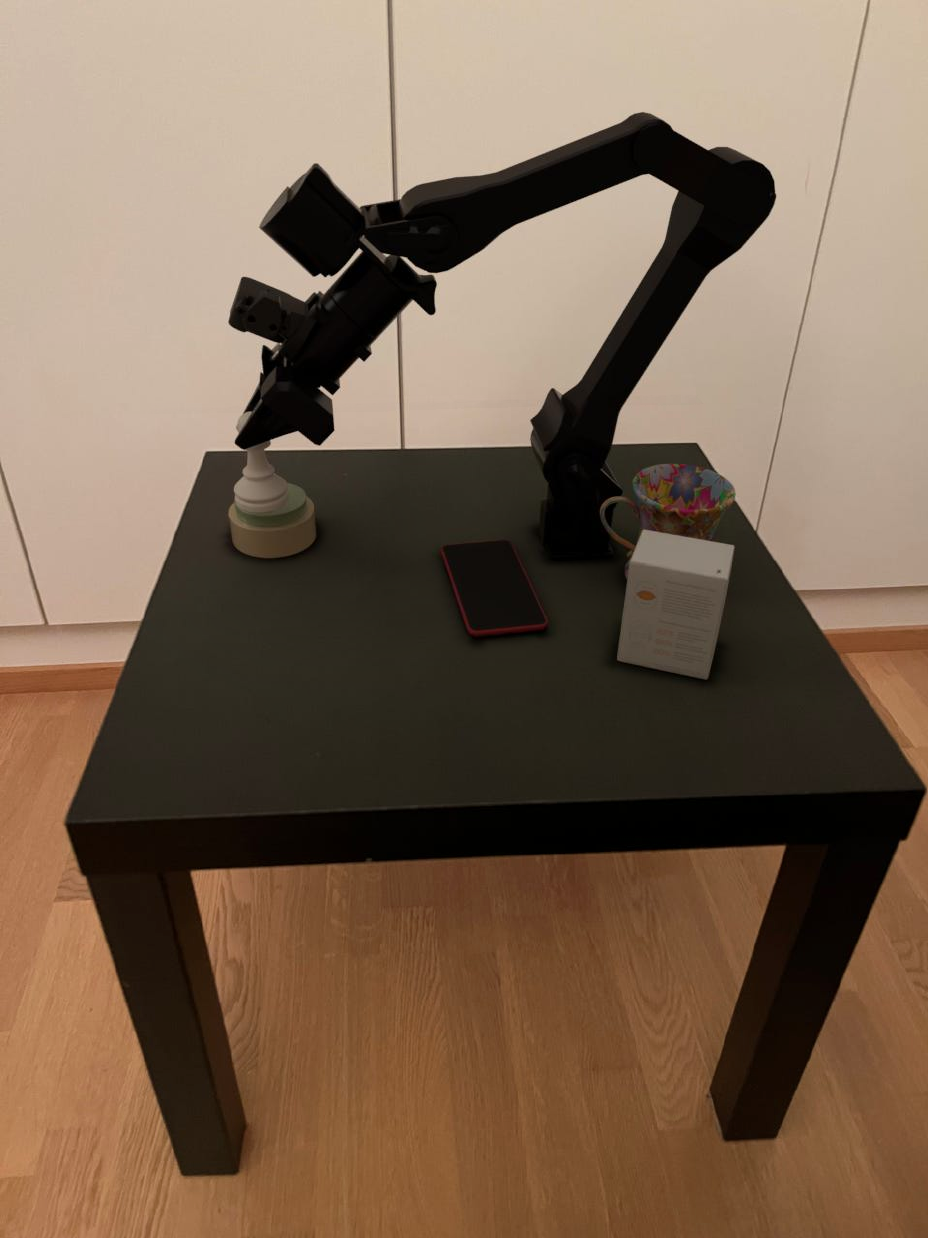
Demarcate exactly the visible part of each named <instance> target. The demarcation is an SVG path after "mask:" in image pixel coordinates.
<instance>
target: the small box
mask: <svg viewBox="0 0 928 1238" xmlns="http://www.w3.org/2000/svg"><path fill="white" fill-rule="evenodd" d="M638 538H639V540H638V539H637V542H636V545H635V546H636V547H635V550H634V552H633V555H632V557H631V560H630V564H629V572H628V580H627V579H626V588H625V594H624V595H625V596H624V602H623V609H622V618H621V625H620V632H619V633H620V634H619V640H618V647H617V656H616V661H617V662H621V663H626V664H630V665H634V666H639V667H644V668H649V669H652V670H653V669H654V670H658V671H663V672H667V673H671V674H672V673H673V674H675V675H680V676H681V675H682V676H686V677H691V678H696V679H701V680H705V681H706V680H708V679H709V676H710V672H711V667H712V665H713V664H712V663H713V659H714V655H715V652H716V651H715V650H716V646H717V642H718V638H719V632H720V627H721V622H722V618H723V613H724V608H725V603H726V599H727V592H728V588H729V583H730V577H731V572H732V564H733V560H734V555H735V554H734V553H735V545H734V544H728V543H723V542H717V541H712V540H711V541H707V540H701V539H695V538H689V537H684V536H678V535H672V534H667V533H661V532H655V531H650V530H642V532H641V535H640V537H639V536H638Z"/></svg>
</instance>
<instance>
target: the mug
mask: <svg viewBox="0 0 928 1238" xmlns="http://www.w3.org/2000/svg"><path fill="white" fill-rule="evenodd" d="M631 487H632V490H633V493H634V496H635V500H636V503H635V502H634V501H633V500H631V499H630V498H628V497H626V496H622V495H621V496H617V497H612V498H609V499H607V500H606V501H605V502H604V503H603V504H602V506H601V508H600V518H601V521H602V524H603V526H604V527H605V529H606V530H607V532H608V533H609V534H610V537H611V538H613V540H615V541H616V542H618V543H619V544H620V545H622V546H623V547H625V548H628V549H629V551H628V552H626V557H627V559H628V560H627V562H626V564H625V566H624V576H625V579H626V581H627V580H628V572H629V564H630V560H631V557H632V555H633V552H634V550H635V547H636V545H635V544H633V543H632V542H630V541H628V540H626V539H624V538H623V537H621V536H620V535H618V534H617V533H616V532H615V531H614V530H613V529H612V527H611V528H610V527H609V525H608V523H607V522H606V519H605V516H604V512H605V509H606V508H607V506H609V505H610V504H612V503H615V502H618V503H623V504H626V505H628V506H629V507H630V508H632V510H633V512H634V515H635V519H636V520H639V531H638V539H637V541H638V540H639V537H640V535H641V532H642V530H650V531H655V532H661V533H667V534H672V535H678V536H684V537H689V538H695V539H701V540H707V541H712V540H713V537H714V534H715V531H716V529H717V527H718V525H719V523H720V521H721V520H722V518H723V516H724V515H725V513H726V512H727V510H728V509H729V508H730V507H731V506H732V504H733V503H734V501H735V500H736V489H735V487H734V485H733V484H732V483H731V482H730V480H728V478H726V477H725V476H723V475H721V474H720V473H718V472H715V471H713V470H710V469H708V468H705V467H701V466H698V465H692V464H685V463H661V464H655V465H651V466H648V467H645V468H643V469H641V470H640V471H639V472H637V473H636V474H635V475H634V476H633V478H632V481H631Z"/></svg>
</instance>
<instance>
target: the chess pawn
mask: <svg viewBox="0 0 928 1238" xmlns="http://www.w3.org/2000/svg"><path fill="white" fill-rule="evenodd" d="M251 413H252V411H251V412H246V413H244V414H243V413H242V414H243V415H242V414H241V415H240V416H239V417H238V420H237V423H236V426H237V429H236V431H237V433H238V434H239V432H240V431H241V429H242V427H243V426H244V424H245V423H246V421H247V419H248V418H249V416H250V415H251ZM271 445H272V442H271V440H269V441H267V442H264V443H261V444H259V445H256V446H253V447H250V448H248V449H245V450H244V451H247V463H246V466H245V467H243V469H242V471H241V472H242V475H243V476H242V477H240V479H239V480H237V482H236V483H235V484H234V487H233V492H234V499H235V501H236V505H237V506H238V507H239V508H240V509H242V510H244V511H247V512H251V513H267V512H271V511H275V510H277V509H280V508H281V507H283V506H284V505H285V504H286V503H287V502H288V498H289V495H288V490H287V487H288V485H287V483H288V482H287V481H286V480H285V479H284V478H283V477H281V476H280V475H279V474H277V473H275V467H274V465H272V464H270V463H269V461H268V459H267V455H266V449H268V448H269V447H270V446H271Z"/></svg>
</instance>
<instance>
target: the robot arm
mask: <svg viewBox="0 0 928 1238" xmlns="http://www.w3.org/2000/svg"><path fill="white" fill-rule="evenodd" d="M644 175H650V176H652V177H653V178H655V179H657V180H659V181H661V182H663V183H664V184H666V185H668V186H669V187H671V188H672V189H674V190H676V191H677V193H676V195H675V198H674V201H673V203H672V205H671V211H670V214H669V219H668V222H667V223H668V224H667V229H666V233H665V237H664V238H665V239H664V241H663V243H662V246H661V248H660V249H659V251H658V253H657V254H656V256H655V258H654V259H653V260H652V263H651V264H650V265H649V268H648V269H647V271H645V274H644V276H643V277H642V279H641V281H640V282H639V284H638V285H637V287H636V289H635V291H634V292H633V294H632V295H631V297H630V299H629V300H628V302H627V304H626V305H625V307H624V309H623V310H622V312H621V314H620V315H619V317H618V319H617V320H616V322H615V323H614V325H613V327H612V328H611V330H610V332H609V333H608V335H607V336H606V338H605V340H604V341H603V343H602V345H601V347H600V348H599V350H598V352H597V353H596V355H595V356H594V357H593V359H592V361H591V363H590V365H589V366H588V368H587V370H586V371H585V372H584V374H583V376H582V378H581V379H580V380H579V382H578V383H576V385H574V386H573V387H571V388H570V389H568V390H567V391H566V392H565V393H561V392H560V391H558V390H557V389H556V388H555V387H551V388H550V390H549V391H548V393H547V395H546V397H545V400H544V402H543V405H542V406H541V408H540V409H539V411H538V412H537V414H535V415H534V416H533V417H532V418H530V419H529V420H530V423H531V426H532V429H531V432H530V438H529V440H530V441H529V442H530V446H531V449H532V453H533V455H534V457H535V459H536V462H537V464H538V466H539V469H540V471H541V474H542V475H543V478H544V480H545V481H546V483H547V491H546V492H547V493H546V497H545V498H544V497H543V498H542V499H541V501H540V511H539V526H538V534H539V537H540V540H541V543H542V545H543V546H544V547H546V549H547V550H546V551H547V553H548V555H549V558H550V559H551V560H555V561H557V560H560V561H561V560H578V559H579V560H580V559H583V560H584V559H598V558H599V559H604V558H612V557H613V556H614V549H613V547H612V545H611V543H610V541H611V535H610V534H609V533H608V532H607V530H606V529H605V527H604V526H603V524H602V521H601V518H600V508H601V506H602V504H603V503H604V502H605V501H606V500H607V499H609V498H612V497H617V496H621V497H622V496H623V493H624V490H623V489H622V487H621V485H620V483H619V482H618V480H617V479H616V477H615V475H614V473H613V471H612V469H611V468H610V466H609V464H608V462H607V459H608V456H609V455H610V452H611V450H612V447H613V443H614V438H615V434H616V429H617V424H618V420H619V416H620V413H621V411H622V409H623V407H624V405H625V404H626V402H627V401H628V399H629V397H630V396H631V395H632V393H633V392H634V390H635V388H636V387H637V385H638V384H639V382H640V381H641V379H642V377H643V376H644V374H645V372H646V371H647V370H648V368H649V367H650V365H651V364H652V362H653V360H654V359H655V357H656V355H657V354H658V352H659V351H660V349H661V348H662V346H663V345H664V343H665V342H666V340H667V338H668V337H669V336H670V334H671V332H672V331H673V329H674V327H675V326H676V324H677V323H678V321H679V320H680V318H681V317H682V315H683V314H684V312H685V310H686V309H687V307H688V306H689V304H690V302H691V301H692V299H693V298H694V296H695V295H696V293H697V292H698V290H699V288H700V287H701V285H702V284H703V282H704V281H705V280H706V278H707V276H708V275H709V274H710V273H711V272H712V271H713V270H715V269H716V268H717V267H718V266H720V265H721V264H722V263H724V262H725V261H726V260H728V259H729V258H731V257H732V256H733V255H735V254H737V253H738V252H739V251H740V250H741V249H742V248H743V247H744V246H745V245H746V244H747V242H748V241H749V240H750V239H751V238H752V237H753V236H754V235H755V233H756V232H757V231H758V229H759V228H760V227H762V225H763V224H764V223H765V222H766V220H767V219H768V218H769V217H770V215H771V212H772V210H773V209H774V206H775V204H776V200H777V193H776V183H775V178H774V176H773V174H772V172H771V170H770V169H769V168H768V167H766V165H764V163H762V162H759V161H758V160H756V159H754V158H752V157H750V156H748V155H746V154H744V153H742V152H740V151H738V150H736V149H733V148H731V147H729V146H716V147H713V148H710V149H707V148H705V147H703V146H702V145H700V144H698V143H696V142H694V141H693V140H691V139H689V138H687V137H686V136H684V135H683V134H681V133H679V132H677V131H676V130H674V129H673V128H672V125H670V124H669V123H668V122H667V121H665V120H664V119H662V118H660V117H658V116H656V115H655V114H652V113H649V112H645V111H642V112H636V113H633V114H630V115H629V116H628V117H627V118H625V119H624V120H622V121H621V122H618V123H617V124H614V125H611V126H609V127H607V128H604V129H600V130H599V131H596V132H594V133H591V134H588V135H586V136H584V137H581V138H578V139H576V140H573V141H571V142H569V143H566V144H563V145H561V146H559V147H557V148H554V149H551V150H548V151H546V152H544V153H541V154H538V155H536V156H533V157H531V158H529V159H526V160H524V161H521V162H518V163H516V164H513V165H510V166H508V167H506V168H504V169H501V170H498V171H496V172H491V173H486V174H481V175H469V176H467V175H465V176H455V177H449V178H445V179H440V180H434V181H429V182H424V183H420V184H417V185H415V186H413V187H411V188H410V189H408V190H407V191H405V192H404V193H403V195H402V196H401V198H400V199H393V200H387V201H382V202H376V203H371V204H370V203H369V204H365V205H361V206H360V207H359V206H358V205H357V204H356V203H355V202H354V201H353V200H352V199H351V198H350V197H349V196H348V195H347V194H346V193H345V192H344V191H343V190H342V189H341V188H340V187H339V186H338V185H337V184H336V183H335V182H334V181H333V179H332V177H331V176H330V174H329V173H328V172H327V171H326V170H325V168H323V167H322V166H321V165H320V164H319V163H316V162H315V163H313V164H312V165H311V166H310V168H309V169H308V170H307V171H306V172H305V173H303V174H302V175H301V176H300V177H298V178H297V179H296V180H295V182H293V183H292V184H291V186H290V187H289V186H286V187H285V189H283V190H282V192H280V194H279V196H278V197H277V198H276V200H275V201H274V202H273V203H272V205H271V206H270V208H268V211H267V212H266V213H265V214H264V217H262V220H261V222H260V224H259V226H258V228H259V229H260V230H261V231H262V232H263V233H264V234H265V235H266V236H267V237H268V238H270V240H272V241H273V242H274V243H275V244H276V245H277V246H279V248H280V249H282V250H283V251H284V252H285V253H286V254H287V255H288V256H290V258H291V259H292V260H293V261H295V262H296V263H297V264H298V265H299V266H300V267H302V268H303V270H304V271H306V272H307V273H308V274H309V275H310V276H311V277H313V278H315V277H317V276H319V275H321V276H322V277H323V278H327V277H328V276H329V277H331V278H332V277H334V276H335V275H337V274H338V273H339V272H340V271H342V270H343V269H344V268H345V266H346V265H347V264H348V263H349V261H350V260H351V259H352V258H353V256H355V254H356V252H357V251H359V249H360V251H361V252H360V253H359V254H358V255H357V256H356V257H355V258H354V259H353V260H352V262H351V263H350V264H349V265H348V266H347V267H346V268H345V270H344V271H343V272H342V273H341V274H340V275H339V276H338V277H337V278H336V280H335V281H334V282H333V283H332V284H331V285H330V286H329V288H328V289H327V290H326V291H325V292H324V293H323V292H322V291H321V290H319V291H318V292H317V293H316V292H315V291H314V292H313V293H311V294H310V295H309V297H308V298H307V299H306V300H305V301H304V300H302V299H299V298H297V297H295V296H293V295H291V294H290V293H288V292H286V291H284V290H281V289H278V288H276V287H274V286H272V285H268V284H266V283H264V282H261V281H259V280H256V279H254V278H252V277H248V276H242V277H241V278H240V280H239V284H238V286H237V290H236V292H235V295H234V299H233V301H232V304H231V308H230V310H229V317H228V321H227V322H228V325H229V326H230V327H231V328H233V329H235V330H237V331H238V332H241V333H246V332H247V333H251V334H253V335H254V336H255V335H256V336H258V337H260V338H263V339H265V340H268V341H271V342H273V343H276V344H275V345H274V347H272V349H271V348H270V347H268V346H267V345H265V344H263V345H262V347H261V357H260V359H261V367H262V371H260V373H259V382H258V384H257V386H256V387H255V389H254V392H253V394H252V395H251V397H250V399H249V401H248V403H247V405H246V407H245V409H244V410H243V413H242V414H241V415H243V414H244V413H246V412H251V411H252V413H251V415H250V416H249V418H248V419H247V421H246V423H245V424H244V426H243V427H242V429H241V431H240V432H239V433H238V434H237V435H236V437H235V439H234V445H235V446H237V447H238V448H239V449H241V450H243V451H246V450H245V449H248V448H250V447H253V446H256V445H259V444H261V443H264V442H267V441H269V440H270V441H273V440H275V439H279V438H281V437H283V436H286V435H290V434H293V433H297V432H298V433H300V434H301V435H302V436H304V437H305V438H306V439H307V440H308V441H310V442H311V443H312V444H314V445H316V446H318V447H320V446H321V445H322V444H323V443H324V442H326V441H327V439H328V438H329V437H330V436H331V435H332V434H333V433H334V432H335V431H336V430H335V418H334V407H333V406H334V405H333V399H332V398H331V397H330V396H329V395H327V394H326V393H325V392H324V391H322V390H321V389H320V388H321V387H322V388H323V390H325V391H327V393H329V394H330V395H331V396H334V395H335V394H336V393H337V392H338V390H339V389H341V382H340V379H341V378H342V377H343V376H344V374H346V372H347V371H348V370H349V369H350V368H351V367H352V366H353V365H354V364H355V363H356V362H357V361H358V360H359V359H360V360H361V361H362V362H363V363H365V362H366V361H367V360H368V359H369V358H370V356H372V353H373V351H372V347H371V346H372V345H373V344H374V342H376V341H377V339H378V338H379V337H380V336H381V335H382V334H383V333H384V332H385V330H386V329H387V328H388V327H389V326H390V325H391V324H392V323H393V322H394V321H395V320H396V319H397V318H398V316H399V315H401V313H402V312H403V311H404V310H405V309H406V308H407V307H408V306H409V305H410V304H411V303H412V302H414V303H416V304H417V305H418V306H419V307H420V308H421V309H422V310H423V311H424V312H425V313H426V314H427V315H429V316H434V315H435V314H436V313H437V308H436V300H435V299H436V297H435V296H436V289H437V286H438V282H437V280H436V276H435V274H440V273H444V272H445V273H446V272H448V271H450V270H452V269H454V268H455V267H458V266H459V265H461V264H462V263H464V262H465V261H467V260H469V259H470V258H472V257H474V256H475V255H477V254H479V253H480V252H483V250H485V249H486V248H487V247H488V246H489V245H490V244H492V243H493V242H494V241H495V240H496V239H497V238H498V237H500V236H501V235H502V234H504V233H505V232H507V231H508V230H510V229H511V228H513V227H515V226H517V225H519V224H521V223H524V222H527V221H530V220H532V219H534V218H537V217H540V216H542V215H544V214H547V213H551V212H552V211H555V210H558V209H561V208H563V207H565V206H567V205H569V204H572V203H575V202H578V201H580V200H582V199H585V198H587V197H591V196H592V195H593V196H594V195H596V194H598V193H601V192H604V191H605V190H608V189H610V188H613V187H615V186H618V185H620V184H623V183H626V182H629V181H631V180H634V179H636V178H638V177H641V176H644ZM386 255H388V256H386ZM404 258H406V259H407V260H408V261H409V262H410V263H411V264H412V265H413V266H414V267H416V268H418V269H420V270H422V271H425V272H427V273H428V274H420V273H418V272H417V271H416V270H415V269H414V268H413V267H412V266H411V265H410V264H409V263H408V262H406V260H404ZM235 429H236V430H237V425H236V428H235ZM618 503H619V502H615V503H612V504H610V505H609V506H607V508H606V509H605V512H604V516H605V519H606V522H607V523H608V525H609V527H610V528H611V529H612V525H613V524H612V523H613V515H614V510H615V508H616V507H617V505H618Z"/></svg>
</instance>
